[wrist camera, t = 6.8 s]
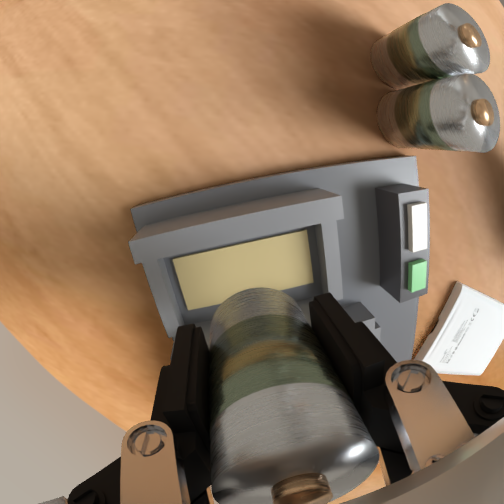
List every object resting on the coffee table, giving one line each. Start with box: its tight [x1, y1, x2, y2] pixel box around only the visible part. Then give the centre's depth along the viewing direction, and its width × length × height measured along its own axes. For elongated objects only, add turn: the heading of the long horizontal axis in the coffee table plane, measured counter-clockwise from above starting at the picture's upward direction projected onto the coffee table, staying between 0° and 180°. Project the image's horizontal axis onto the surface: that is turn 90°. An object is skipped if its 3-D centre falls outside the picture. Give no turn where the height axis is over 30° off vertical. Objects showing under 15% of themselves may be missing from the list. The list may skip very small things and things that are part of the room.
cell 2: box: [370, 3, 490, 90], centre depth 10 cm, size 4×4×7 cm
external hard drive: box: [414, 281, 504, 375], centre depth 21 cm, size 2×8×12 cm
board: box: [128, 156, 430, 363], centre depth 17 cm, size 23×16×4 cm
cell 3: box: [377, 73, 500, 153], centre depth 12 cm, size 4×4×7 cm
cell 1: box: [209, 287, 380, 504], centre depth 8 cm, size 4×4×7 cm
